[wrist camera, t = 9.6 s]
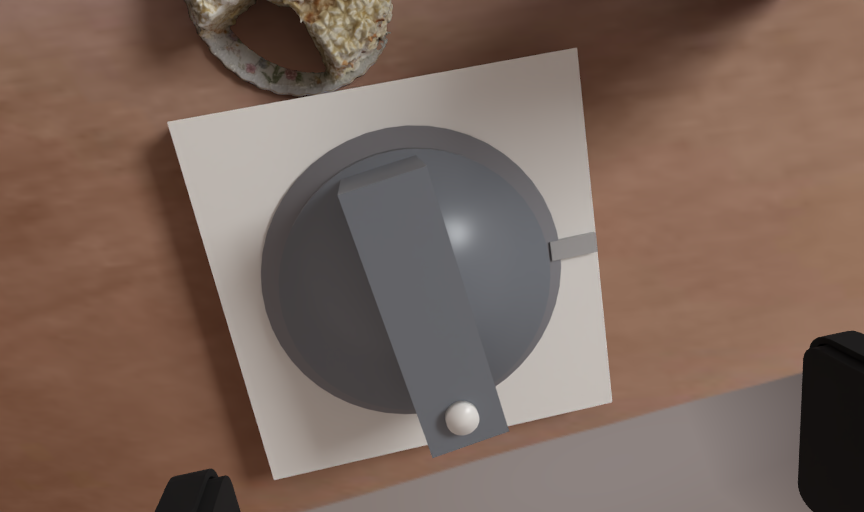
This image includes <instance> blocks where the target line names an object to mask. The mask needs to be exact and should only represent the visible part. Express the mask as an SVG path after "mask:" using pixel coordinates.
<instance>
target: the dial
mask: <svg viewBox="0 0 864 512" xmlns="http://www.w3.org/2000/svg"><path fill="white" fill-rule="evenodd" d="M549 289H550V260H549V255H548V250H547V244H546V241H545V238H544V235H543V232H542V229H541V227H540V225H539V223H538V221H537V219H536V217H535V215H534V213H533V212H532V210H531V209H530V207H529V206H528V204H527V203H526V201H525V200H524V198H523V197H522V196H521V195H520V194H519V193H518V192H517V191H516V190H515V189H514V187H513V186H512V185H510V184H509V183H508V182H507V181H506V180H504V179H503V178H502V177H501V176H500V175H498V174H497V173H495V172H493V171H492V170H490V169H489V168H487V167H485V166H484V165H482V164H480V163H478V162H476V161H473V160H471V159H469V158H467V157H464V156H462V155H459V154H455V153H452V152H449V151H445V150H439V149H432V148H401V149H393V150H388V151H384V152H380V153H376V154H373V155H370V156H368V157H365V158H363V159H360V160H358V161H356V162H354V163H352V164H351V165H349V166H347V167H345V168H343V169H342V170H340V171H339V172H338V173H336V174H335V175H334V176H332V177H331V178H330V179H328V180H327V181H326V182H325V183H324V184H323V185H322V186H321V187H320V188H319V189H318V190H317V191H316V192H315V193H314V194H313V195H312V196H311V198H310V199H309V200H308V202H307V203H306V204H305V206H304V207H303V208H302V210H301V212H300V214H299V215H298V217H297V219H296V221H295V223H294V224H293V226H292V228H291V231H290V233H289V236H288V238H287V241H286V243H285V246H284V250H283V254H282V258H281V262H280V272H279V299H280V304H281V309H282V315H283V318H284V321H285V324H286V327H287V330H288V332H289V334H290V336H291V338H292V340H293V342H294V344H295V346H296V348H297V349H298V351H299V352H300V354H301V355H302V357H303V358H304V359H305V361H306V362H307V363H308V364H309V365H310V366H311V367H312V369H313V370H314V371H315V372H316V373H317V374H318V375H319V376H321V377H322V378H323V379H324V380H325V381H327V382H328V383H329V384H330V385H332V386H333V387H335V388H337V389H338V390H340V391H341V392H343V393H345V394H347V395H349V396H351V397H353V398H355V399H357V400H360V401H363V402H366V403H369V404H372V405H375V406H380V407H385V408H390V409H402V410H415V411H416V413H417V416H418V419H419V422H420V424H421V427H422V430H423V433H424V435H425V438H426V441H427V444H428V447H429V449H430V452H431V455H432V458H434V457H437V456H440V455H442V454H445V453H448V452H451V451H454V450H457V449H460V448H463V447H465V446H468V445H471V444H474V443H477V442H480V441H483V440H485V439H488V438H491V437H494V436H497V435H500V434H503V433H505V432H508V431H509V429H508V426H507V422H506V419H505V416H504V413H503V409H502V406H501V403H500V400H499V397H498V393H497V390H496V387H495V384H494V382H495V381H497V380H498V379H500V378H501V377H502V376H503V375H504V374H505V373H506V372H507V371H508V370H510V369H511V368H512V367H513V366H514V364H515V363H516V362H517V361H518V360H519V359H520V358H521V356H522V355H523V354H524V353H525V351H526V350H527V348H528V347H529V345H530V344H531V342H532V341H533V339H534V337H535V335H536V333H537V331H538V329H539V327H540V324H541V322H542V319H543V316H544V313H545V310H546V306H547V301H548V296H549Z"/></svg>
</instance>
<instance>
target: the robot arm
mask: <svg viewBox="0 0 864 512" xmlns="http://www.w3.org/2000/svg"><path fill="white" fill-rule="evenodd" d="M801 403H802V404H801V426H800V448H799V471H798V488H799V492H800V495H801V497H802V498H803V500H804V502H805V503H806V505H807V506H808V507H809V508H810V509H811V510H812V511H813V512H864V334H862V333H860V332H856V331H846V332H841V333H836V334H832V335H827V336H823V337H818V338H816V339H815V340H813V342H812V343H811V345H810V349H808V350H807V351H806V352H805V354H804V358H803V379H802V401H801ZM155 512H240V508H239V505H238V502H237V498H236V495H235V492H234V488H233V485H232V482H231V480H230V478H229V477H228V476H221V477H218V475H217V473H216V472H215V471H214V470H213V469H206V470H202V471H197V472H192V473H188V474H183V475H179V476H174V477H172V478H171V479H170V480H169V482H168V484H167V486H166V488H165V490H164V493H163V495H162V497H161V499H160V501H159V504H158V506H157V508H156V510H155Z"/></svg>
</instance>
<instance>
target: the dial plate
mask: <svg viewBox="0 0 864 512" xmlns="http://www.w3.org/2000/svg"><path fill="white" fill-rule="evenodd" d="M167 123H168V126H169V130H170V133H171V136H172V140H173V143H174V147H175V150H176V153H177V157H178V160H179V163H180V167H181V170H182V173H183V177H184V180H185V183H186V187H187V190H188V193H189V197H190V200H191V204H192V207H193V210H194V214H195V217H196V220H197V224H198V227H199V230H200V234H201V237H202V240H203V244H204V247H205V250H206V254H207V257H208V261H209V264H210V267H211V271H212V274H213V277H214V281H215V284H216V287H217V291H218V294H219V297H220V301H221V304H222V307H223V311H224V314H225V317H226V321H227V324H228V328H229V331H230V334H231V338H232V341H233V344H234V348H235V351H236V354H237V358H238V361H239V364H240V368H241V371H242V374H243V378H244V381H245V385H246V388H247V391H248V395H249V398H250V401H251V405H252V408H253V411H254V415H255V418H256V421H257V425H258V428H259V431H260V435H261V438H262V442H263V445H264V448H265V452H266V455H267V458H268V462H269V465H270V468H271V472H272V475H273V478H274V480H277V479H281V478H286V477H290V476H294V475H299V474H303V473H307V472H312V471H316V470H320V469H325V468H329V467H333V466H338V465H342V464H346V463H351V462H355V461H359V460H364V459H368V458H372V457H377V456H381V455H385V454H390V453H394V452H398V451H403V450H407V449H411V448H416V447H420V446H424V445H428V444H427V441H426V438H425V435H424V433H423V430H422V427H421V424H420V422H419V419H418V416H417V413H416V411H415V410H402V409H390V408H385V407H380V406H375V405H372V404H369V403H366V402H363V401H360V400H357V399H355V398H353V397H351V396H349V395H347V394H345V393H343V392H341V391H340V390H338V389H337V388H335V387H333V386H332V385H330V384H329V383H328V382H327V381H325V380H324V379H323V378H322V377H321V376H319V375H318V374H317V373H316V372H315V371H314V370H313V369H312V367H311V366H310V365H309V364H308V363H307V362H306V361H305V359H304V358H303V357H302V355H301V354H300V352H299V351H298V349H297V348H296V346H295V344H294V342H293V340H292V338H291V336H290V334H289V332H288V330H287V327H286V324H285V321H284V318H283V315H282V309H281V304H280V299H279V272H280V262H281V258H282V254H283V250H284V246H285V243H286V241H287V238H288V236H289V233H290V231H291V228H292V226H293V224H294V223H295V221H296V219H297V217H298V215H299V214H300V212H301V210H302V208H303V207H304V206H305V204H306V203H307V202H308V200H309V199H310V198H311V196H312V195H313V194H314V193H315V192H316V191H317V190H318V189H319V188H320V187H321V186H322V185H323V184H324V183H325V182H326V181H327V180H328V179H330V178H331V177H332V176H334V175H335V174H336V173H338V172H339V171H340V170H342V169H343V168H345V167H347V166H349V165H351V164H352V163H354V162H356V161H358V160H360V159H363V158H365V157H368V156H370V155H373V154H376V153H380V152H384V151H388V150H393V149H401V148H432V149H439V150H445V151H449V152H452V153H455V154H459V155H462V156H464V157H467V158H469V159H471V160H473V161H476V162H478V163H480V164H482V165H484V166H485V167H487V168H489V169H490V170H492V171H493V172H495V173H497V174H498V175H500V176H501V177H502V178H503V179H504V180H506V181H507V182H508V183H509V184H510V185H512V186H513V187H514V189H515V190H516V191H517V192H518V193H519V194H520V195H521V196H522V197H523V198H524V200H525V201H526V203H527V204H528V206H529V207H530V209H531V210H532V212H533V213H534V215H535V217H536V219H537V221H538V223H539V225H540V227H541V229H542V232H543V235H544V238H545V241H546V244H547V250H548V255H549V260H550V289H549V296H548V301H547V306H546V310H545V313H544V316H543V319H542V322H541V324H540V327H539V329H538V331H537V333H536V335H535V337H534V339H533V341H532V342H531V344H530V345H529V347H528V348H527V350H526V351H525V353H524V354H523V355H522V356H521V358H520V359H519V360H518V361H517V362H516V363H515V364H514V366H513V367H512V368H511V369H510V370H508V371H507V372H506V373H505V374H504V375H503V376H502V377H501V378H500V379H498V380H497V381H495V382H494V384H495V387H496V390H497V393H498V397H499V400H500V403H501V406H502V409H503V413H504V416H505V419H506V422H507V426H511V425H515V424H520V423H524V422H528V421H533V420H537V419H541V418H546V417H550V416H555V415H559V414H563V413H568V412H572V411H576V410H581V409H585V408H589V407H594V406H598V405H602V404H607V403H611V402H612V394H611V384H610V374H609V364H608V354H607V344H606V334H605V324H604V314H603V304H602V294H601V284H600V274H599V263H598V253H597V252H598V250H597V240H596V233H595V223H594V213H593V203H592V193H591V183H590V173H589V163H588V153H587V143H586V133H585V123H584V112H583V102H582V92H581V82H580V72H579V62H578V52H577V48H571V49H566V50H560V51H555V52H549V53H544V54H538V55H533V56H528V57H522V58H517V59H511V60H506V61H500V62H495V63H489V64H484V65H478V66H473V67H467V68H462V69H456V70H451V71H445V72H440V73H434V74H429V75H423V76H418V77H412V78H407V79H401V80H396V81H390V82H385V83H379V84H374V85H368V86H363V87H357V88H352V89H346V90H341V91H335V92H330V93H324V94H319V95H313V96H308V97H302V98H297V99H291V100H286V101H280V102H275V103H269V104H264V105H258V106H253V107H247V108H242V109H236V110H231V111H225V112H220V113H214V114H209V115H203V116H198V117H192V118H187V119H181V120H176V121H170V122H167Z"/></svg>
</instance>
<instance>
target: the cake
mask: <svg viewBox="0 0 864 512" xmlns="http://www.w3.org/2000/svg"><path fill="white" fill-rule="evenodd" d="M184 1H185V2H186V4H187V7H188V13H189V16H190V18H191V21H193V23H194V25H195V26H196V30H197V33H198V34H199V36H200V37H201V38H202V40H203V41H204V42H206V44H207V45H208V46H209V50H210V52H211V53H212V54H213V55H214V56H216V57H217V58H218V59H219V60H221V61H222V63H223V65H224V66H225V67H226V68H228V69H229V70H231V71H232V72H234V73H236V74H237V75H238V76H239V78H240V79H243V80H244V81H247V82H250V83H252V84H255V85H256V86H257V87H258V88H260V89H263V90H271V91H272V92H274V93H275V94H283V95H284V94H291V95H293V96H304V95H309V96H310V95H319V94H322V93H324V92H326V93H327V92H333V91H335V90H337V89H338V88H340V87H341V86H344V85H347V84H350V83H352V81H353V80H354V79H355V78H356V77H360V76H361V75H364V74H365V72H366V71H367V70H368V68H369V67H370V66H372V65H373V64H375V63H376V61H377V59H378V56H379V55H380V54H381V53H382V51H383V49H384V48H385V47H386V46H385V44H386V43H387V38H386V37H385V34H386V35H387V34H388V33H391V32H387V31H386V30H387V26H386V25H387V23H389V22H390V21H391V17H392V9H393V5H392V4H391V0H266V1H270V2H271V3H273V4H276V5H277V6H279V7H280V6H287V7H291V8H292V9H293V10H294V11H295V12H296V13H297V14H298V16H299V17H300V20H301V21H300V23H302V21H303V22H304V24H305V26H306V27H307V31H308V32H309V34H310V36H311V38H312V39H313V41H314V43H315V46H316V48H317V49H318V50H319V53H320V55H321V56H322V61H323V63H324V65H325V67H326V71H325V72H321V73H314V72H311V73H306V72H299V71H297V70H289V69H286V68H284V67H280V66H278V65H277V64H274V63H271V62H269V61H267V60H265V59H264V58H262V57H260V56H258V55H257V54H256V53H254V52H253V51H252V50H250V49H248V47H247V46H245V45H244V44H243V43H242V42H241V41H240V40H239V39H238V37H237V36H236V35H235V34H234V33H233V32H232V31H231V29H230V26H231V25H234V24H236V18H238V16H239V15H241V14H242V13H243V12H245V11H247V10H248V8H249V7H250V6H251V5H253V4H256V0H184ZM378 38H380V40H383V41H384V44H382V43H380V44H381V45H382V49H380V50H376V49H377V48H376V47H377V46H378V42H379V39H378ZM384 39H386V40H384Z"/></svg>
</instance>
